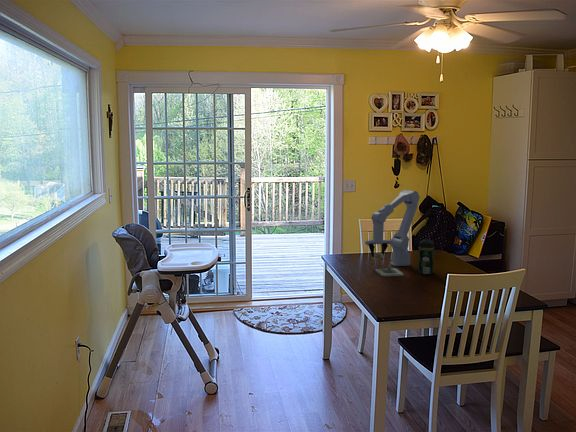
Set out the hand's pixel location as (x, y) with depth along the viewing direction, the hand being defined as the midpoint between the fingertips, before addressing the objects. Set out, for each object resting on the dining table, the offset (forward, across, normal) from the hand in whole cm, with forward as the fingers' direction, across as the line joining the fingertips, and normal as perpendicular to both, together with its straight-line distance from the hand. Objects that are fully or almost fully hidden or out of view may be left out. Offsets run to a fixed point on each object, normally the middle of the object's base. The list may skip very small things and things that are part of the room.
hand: (377, 256), depth 292 cm
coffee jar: (+7, +23, -14) cm, 28 cm away
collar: (+1, 0, 0) cm, 1 cm away
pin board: (+7, +3, -12) cm, 14 cm away
